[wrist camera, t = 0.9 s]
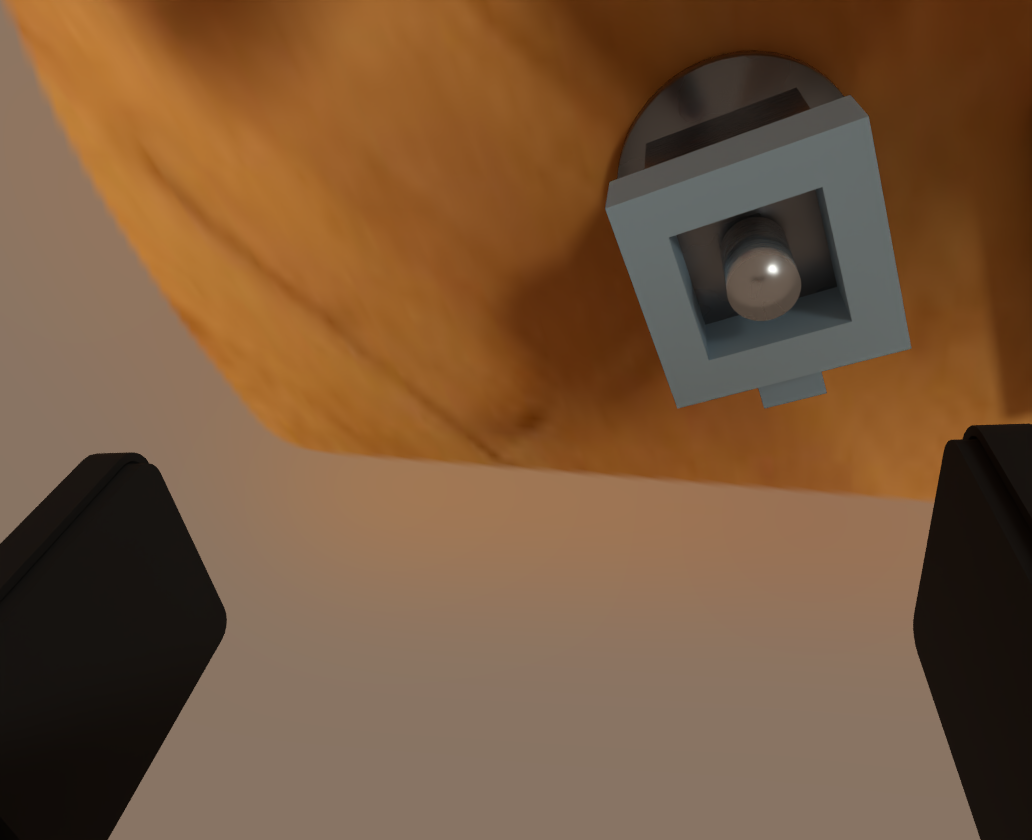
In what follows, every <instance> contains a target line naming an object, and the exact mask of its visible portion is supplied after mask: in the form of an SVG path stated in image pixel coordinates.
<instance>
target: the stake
mask: <svg viewBox="0 0 1032 840" xmlns="http://www.w3.org/2000/svg"><path fill="white" fill-rule="evenodd" d="M843 97H844V96H843V94H842V93H841V92H840V91H839V90H838V89H837V88H836V86H835V85H834V84H833V83H832V82H831V81H830V80H829V79H828V78H826V77H825V76H824V75H823V74H822V73H820V72H819V71H818V70H816V69H815V68H813V67H811V66H809V65H808V64H806V63H804V62H802V61H800V60H797V59H795V58H792V57H790V56H786V55H782V54H778V53H773V52H764V51H739V52H733V53H727V54H722V55H718V56H715V57H712V58H709V59H706V60H703V61H701V62H699V63H697V64H695V65H693V66H691V67H688V68H687V69H685V70H684V71H682V72H681V73H679V74H677V75H676V76H674V77H673V78H672V79H670V80H669V81H668V82H667V83H666V84H664V85H663V86H662V87H661V88H660V89H659V90H658V91H657V92H656V93H655V94H654V95H653V96H652V97H651V98H650V99H649V100H648V101H647V103H646V104H645V105H644V107H643V108H642V110H641V111H640V112H639V114H638V115H637V117H636V119H635V121H634V122H633V124H632V126H631V128H630V130H629V132H628V135H627V137H626V140H625V142H624V145H623V149H622V153H621V157H620V162H619V169H618V177H617V179H619V178H622V177H624V176H627V175H630V174H633V173H635V172H638V171H641V170H644V169H646V168H649V167H652V166H655V165H658V164H660V163H663V162H666V161H669V160H671V159H674V158H677V157H680V156H682V155H685V154H688V153H691V152H693V151H696V150H699V149H702V148H704V147H707V146H710V145H713V144H716V143H718V142H721V141H724V140H727V139H729V138H732V137H735V136H738V135H740V134H743V133H746V132H749V131H751V130H754V129H757V128H760V127H762V126H765V125H768V124H771V123H774V122H776V121H779V120H782V119H785V118H787V117H790V116H793V115H796V114H798V113H801V112H804V111H807V110H809V109H812V108H815V107H818V106H820V105H823V104H826V103H829V102H832V101H834V100H837V99H840V98H843ZM676 236H677V239H678V242H679V245H680V248H681V251H682V254H683V257H684V260H685V263H686V267H687V270H688V273H689V276H690V279H691V282H692V285H693V288H694V291H695V294H696V298H697V301H698V304H699V307H700V310H701V313H702V316H703V319H704V322H705V325H706V324H710V323H713V322H717V321H720V320H724V319H727V318H731V317H734V316H738V315H741V316H742V317H744V318H747V319H750V320H754V321H767V320H771V319H775V318H777V317H779V316H781V315H783V314H785V313H786V312H787V311H789V310H790V309H791V308H792V307H793V305H794V304H795V303H796V301H797V299H798V298H800V297H804V296H807V295H810V294H814V293H817V292H821V291H824V290H828V289H831V288H835V287H837V283H836V279H835V274H834V270H833V266H832V261H831V257H830V252H829V248H828V243H827V239H826V235H825V230H824V226H823V221H822V217H821V212H820V208H819V203H818V199H817V195H816V190H812V191H809V192H805V193H802V194H799V195H796V196H793V197H790V198H787V199H784V200H781V201H778V202H775V203H772V204H769V205H766V206H763V207H760V208H757V209H754V210H751V211H748V212H745V213H742V214H739V215H736V216H733V217H730V218H727V219H724V220H720V221H717V222H714V223H711V224H708V225H705V226H702V227H699V228H696V229H693V230H690V231H687V232H684V233H681V234H678V235H676Z"/></svg>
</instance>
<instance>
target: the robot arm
mask: <svg viewBox="0 0 1032 840" xmlns="http://www.w3.org/2000/svg"><path fill="white" fill-rule="evenodd" d="M226 621H227V619H226V612H225V609H224V606H223V604H222V602H221V600H220V598H219V596H218V594H217V592H216V590H215V587H214V585H213V583H212V581H211V579H210V577H209V575H208V573H207V570H206V568H205V566H204V564H203V562H202V560H201V558H200V556H199V554H198V551H197V549H196V547H195V545H194V543H193V541H192V539H191V537H190V534H189V533H188V530H187V528H186V526H185V524H184V522H183V520H182V517H181V515H180V513H179V511H178V509H177V507H176V505H175V503H174V500H173V498H172V496H171V494H170V492H169V490H168V488H167V486H166V484H165V481H164V479H163V477H162V475H161V473H160V471H159V470H158V468H157V467H155V466H154V465H153V464H149V463H148V461H147V460H146V458H144V457H143V456H142V455H140V454H137V453H104V454H93V455H89V456H88V457H87V458H85V459H84V460H83V461H82V462H81V463H80V464H79V465H78V466H77V467H76V468H75V469H74V470H73V471H72V472H71V473H70V474H69V475H68V476H67V477H66V478H65V479H64V480H63V481H62V482H61V483H60V484H59V485H58V486H57V487H56V488H55V489H54V490H53V491H52V492H51V493H50V494H49V495H48V496H47V497H46V498H45V499H44V500H43V501H42V502H41V503H40V504H39V506H37V507H36V508H35V509H34V510H33V511H32V512H31V513H30V514H29V515H28V516H27V517H26V518H25V519H24V520H23V521H22V523H20V525H19V526H18V527H17V528H16V529H15V530H14V531H13V532H12V533H11V534H10V535H9V536H8V537H7V538H6V539H5V540H4V541H3V542H2V543H1V544H0V840H108V838H109V836H110V835H111V833H112V831H113V829H114V828H115V826H116V824H117V822H118V820H119V819H120V817H121V815H122V814H123V812H124V810H125V808H126V807H127V805H128V803H129V801H130V800H131V798H132V796H133V794H134V792H135V791H136V789H137V787H138V785H139V784H140V782H141V780H142V779H143V777H144V775H145V773H146V771H147V770H148V768H149V766H150V765H151V763H152V761H153V759H154V758H155V756H156V754H157V752H158V750H159V749H160V747H161V745H162V743H163V742H164V740H165V738H166V737H167V735H168V733H169V731H170V730H171V728H172V726H173V724H174V722H175V721H176V719H177V717H178V715H179V714H180V712H181V710H182V708H183V706H184V705H185V703H186V701H187V700H188V698H189V696H190V694H191V693H192V691H193V689H194V687H195V686H196V684H197V682H198V680H199V679H200V677H201V675H202V673H203V672H204V670H205V668H206V666H207V665H208V663H209V661H210V659H211V658H212V656H213V654H214V652H215V651H216V649H217V647H218V645H219V644H220V642H221V640H222V638H223V636H224V634H225V629H226ZM913 630H914V639H915V645H916V649H917V652H918V655H919V658H920V661H921V664H922V667H923V670H924V673H925V676H926V679H927V682H928V685H929V688H930V691H931V694H932V697H933V700H934V703H935V706H936V709H937V712H938V714H939V718H940V720H941V723H942V727H943V730H944V732H945V735H946V738H947V741H948V744H949V747H950V750H951V753H952V756H953V759H954V762H955V765H956V768H957V771H958V773H959V777H960V780H961V783H962V786H963V789H964V792H965V794H966V797H967V801H968V803H969V806H970V809H971V812H972V815H973V818H974V821H975V824H976V827H977V830H978V833H979V836H980V839H981V840H1032V425H1031V424H1003V425H972V426H970V427H969V428H968V429H967V430H966V432H965V433H964V437H963V440H950V441H948V442H947V444H946V446H945V450H944V454H943V459H942V465H941V470H940V475H939V481H938V486H937V492H936V497H935V503H934V508H933V514H932V519H931V525H930V530H929V536H928V541H927V548H926V552H925V558H924V563H923V569H922V574H921V580H920V585H919V591H918V597H917V601H916V607H915V613H914V620H913Z"/></svg>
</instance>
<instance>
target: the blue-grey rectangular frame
mask: <svg viewBox="0 0 1032 840" xmlns="http://www.w3.org/2000/svg"><path fill="white" fill-rule="evenodd" d="M812 190H816V195H817V199H818V203H819V208H820V212H821V217H822V221H823V226H824V230H825V235H826V239H827V243H828V248H829V252H830V257H831V261H832V266H833V270H834V274H835V279H836V283H837V287H835V288H831V289H828V290H824V291H821V292H817V293H814V294H810V295H807V296H804V297H800V298H798V299H797V301H796V303H795V304H794V305H793V307H792V308H791V309H790V310H789V311H787V312H786V313H785V314H783V315H781V316H779V317H777V318H775V319H771V320H767V321H754V320H750V319H747V318H744V317H742V316H741V315H738V316H734V317H731V318H727V319H724V320H720V321H717V322H713V323H710V324H706V325H705V322H704V319H703V316H702V313H701V310H700V307H699V304H698V301H697V298H696V294H695V291H694V288H693V285H692V282H691V279H690V276H689V273H688V270H687V267H686V263H685V260H684V257H683V254H682V251H681V248H680V245H679V242H678V239H677V236H676V235H678V234H681V233H684V232H687V231H690V230H693V229H696V228H699V227H702V226H705V225H708V224H711V223H714V222H717V221H720V220H724V219H727V218H730V217H733V216H736V215H739V214H742V213H745V212H748V211H751V210H754V209H757V208H760V207H763V206H766V205H769V204H772V203H775V202H778V201H781V200H784V199H787V198H790V197H793V196H796V195H799V194H802V193H805V192H809V191H812ZM605 210H606V212H607V215H608V218H609V221H610V223H611V226H612V229H613V232H614V234H615V237H616V240H617V243H618V245H619V248H620V251H621V254H622V257H623V259H624V262H625V265H626V268H627V270H628V273H629V276H630V279H631V281H632V284H633V287H634V290H635V292H636V295H637V298H638V301H639V303H640V306H641V309H642V312H643V314H644V317H645V320H646V323H647V325H648V328H649V331H650V334H651V337H652V339H653V342H654V345H655V348H656V350H657V353H658V356H659V359H660V361H661V364H662V367H663V370H664V372H665V375H666V378H667V381H668V383H669V386H670V389H671V392H672V394H673V397H674V400H675V403H676V405H677V408H681V407H685V406H689V405H693V404H697V403H701V402H705V401H709V400H713V399H716V398H720V397H724V396H728V395H732V394H736V393H740V392H744V391H748V390H752V389H755V388H758V389H759V392H760V396H761V399H762V402H763V406H764V408H768V407H772V406H776V405H781V404H785V403H789V402H793V401H797V400H801V399H805V398H809V397H813V396H817V395H821V394H825V393H827V392H826V388H825V384H824V380H823V376H822V371H826V370H830V369H834V368H837V367H841V366H845V365H849V364H853V363H857V362H861V361H865V360H869V359H873V358H877V357H880V356H884V355H888V354H892V353H896V352H900V351H904V350H908V349H911V344H910V338H909V333H908V327H907V322H906V317H905V311H904V306H903V300H902V295H901V289H900V284H899V278H898V273H897V267H896V262H895V256H894V251H893V246H892V240H891V235H890V229H889V224H888V218H887V213H886V207H885V202H884V196H883V191H882V186H881V180H880V175H879V169H878V164H877V158H876V153H875V147H874V142H873V136H872V131H871V126H870V120H869V116H868V115H867V113H866V112H865V111H864V110H863V109H862V108H861V107H860V105H859V104H858V103H857V102H856V101H855V100H854V98H853V97H852V96H851V95H848V96H845V97H843V98H840V99H837V100H834V101H832V102H829V103H826V104H823V105H820V106H818V107H815V108H812V109H809V110H807V111H804V112H801V113H798V114H796V115H793V116H790V117H787V118H785V119H782V120H779V121H776V122H774V123H771V124H768V125H765V126H762V127H760V128H757V129H754V130H751V131H749V132H746V133H743V134H740V135H738V136H735V137H732V138H729V139H727V140H724V141H721V142H718V143H716V144H713V145H710V146H707V147H704V148H702V149H699V150H696V151H693V152H691V153H688V154H685V155H682V156H680V157H677V158H674V159H671V160H669V161H666V162H663V163H660V164H658V165H655V166H652V167H649V168H646V169H644V170H641V171H638V172H635V173H633V174H630V175H627V176H624V177H622V178H619V179H616V180H613V181H611V182H609V188H608V194H607V201H606V207H605Z"/></svg>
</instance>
